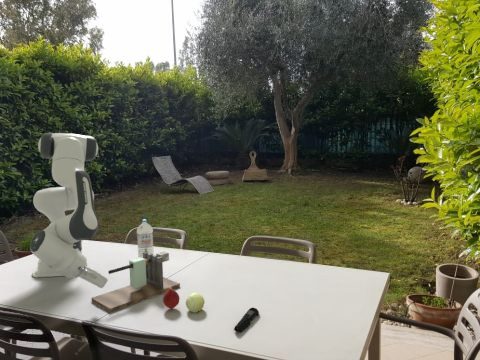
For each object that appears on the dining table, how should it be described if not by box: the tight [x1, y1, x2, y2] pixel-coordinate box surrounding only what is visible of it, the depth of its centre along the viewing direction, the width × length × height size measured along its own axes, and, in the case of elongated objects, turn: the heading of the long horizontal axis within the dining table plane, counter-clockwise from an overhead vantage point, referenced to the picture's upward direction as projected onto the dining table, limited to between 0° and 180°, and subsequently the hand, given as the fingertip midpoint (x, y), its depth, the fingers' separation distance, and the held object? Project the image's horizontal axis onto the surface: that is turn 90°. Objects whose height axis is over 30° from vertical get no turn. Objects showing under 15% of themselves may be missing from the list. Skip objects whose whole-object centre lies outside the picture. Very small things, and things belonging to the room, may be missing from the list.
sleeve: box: [128, 257, 146, 288], centre depth 156 cm, size 5×4×10 cm
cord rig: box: [90, 251, 181, 314], centre depth 155 cm, size 31×14×14 cm, turn 137°
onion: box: [162, 287, 181, 310], centre depth 142 cm, size 6×6×8 cm
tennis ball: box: [185, 292, 205, 313], centre depth 141 cm, size 6×7×7 cm
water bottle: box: [136, 218, 155, 258], centre depth 176 cm, size 7×7×25 cm
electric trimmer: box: [233, 307, 260, 333], centre depth 131 cm, size 4×16×3 cm, turn 156°
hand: (101, 284), depth 145 cm, fingers closed
